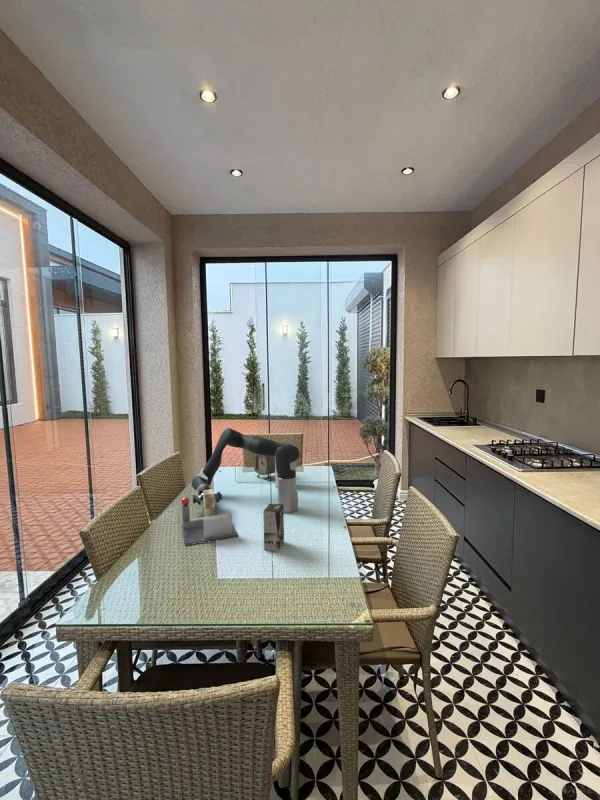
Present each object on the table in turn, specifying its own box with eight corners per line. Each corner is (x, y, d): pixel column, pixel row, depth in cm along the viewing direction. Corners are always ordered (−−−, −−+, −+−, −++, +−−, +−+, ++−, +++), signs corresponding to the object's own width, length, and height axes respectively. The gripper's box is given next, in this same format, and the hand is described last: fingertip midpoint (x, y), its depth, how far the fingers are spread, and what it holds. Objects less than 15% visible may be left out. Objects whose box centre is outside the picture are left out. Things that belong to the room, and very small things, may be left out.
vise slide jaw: (228, 519, 185) (227, 491, 184) (230, 521, 182) (229, 493, 181) (181, 526, 178) (180, 496, 177) (182, 529, 174) (181, 499, 173)
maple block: (212, 512, 198) (211, 489, 197) (215, 517, 190) (214, 493, 189) (203, 513, 196) (202, 490, 195) (205, 519, 189) (204, 494, 188)
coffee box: (279, 551, 154) (278, 511, 153) (263, 550, 155) (262, 510, 154) (284, 541, 163) (284, 503, 162) (269, 540, 164) (269, 502, 163)
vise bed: (229, 520, 187) (228, 501, 186) (238, 537, 168) (237, 516, 167) (181, 527, 179) (180, 508, 178) (184, 545, 160) (183, 524, 159)
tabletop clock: (254, 477, 259) (253, 440, 257) (265, 474, 265) (264, 438, 263) (267, 482, 249) (266, 443, 247) (278, 479, 255) (278, 441, 253)
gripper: (190, 487, 204) (193, 496, 189) (218, 483, 209) (223, 492, 194) (191, 501, 205) (194, 511, 190) (218, 497, 210) (223, 507, 195)
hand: (209, 502), depth 192 cm, fingers open, 8 cm apart
